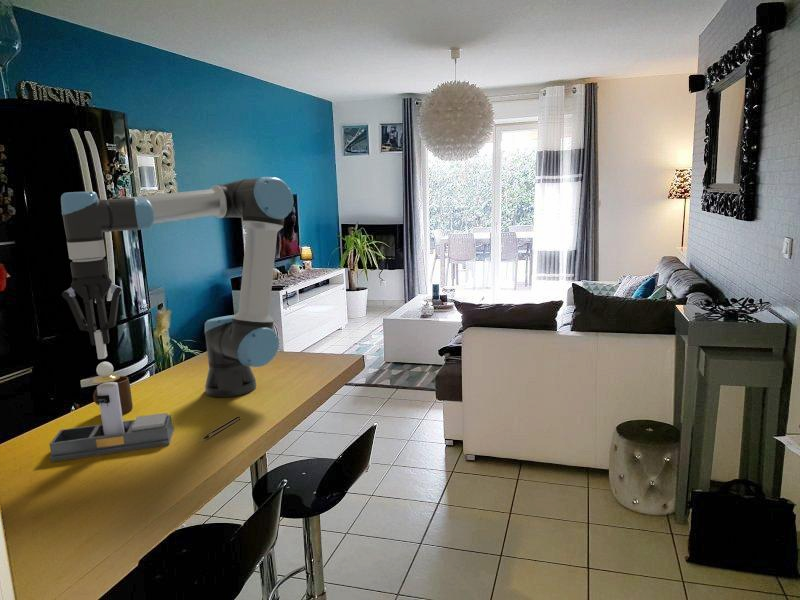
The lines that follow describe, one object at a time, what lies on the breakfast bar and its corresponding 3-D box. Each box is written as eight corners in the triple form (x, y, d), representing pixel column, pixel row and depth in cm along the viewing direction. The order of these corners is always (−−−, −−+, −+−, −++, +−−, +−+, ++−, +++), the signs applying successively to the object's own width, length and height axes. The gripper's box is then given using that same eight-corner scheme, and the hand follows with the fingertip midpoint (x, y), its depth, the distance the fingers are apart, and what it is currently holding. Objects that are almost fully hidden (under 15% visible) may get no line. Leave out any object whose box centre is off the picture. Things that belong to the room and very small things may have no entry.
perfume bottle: (114, 434, 146) (103, 357, 143) (133, 436, 145) (122, 359, 141) (96, 443, 141) (84, 364, 137) (115, 445, 139) (103, 366, 136)
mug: (110, 423, 157) (105, 390, 155) (86, 422, 159) (81, 389, 157) (138, 407, 169) (134, 376, 167) (116, 406, 170) (111, 375, 169)
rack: (173, 429, 151) (171, 410, 150) (169, 444, 142) (166, 424, 141) (63, 444, 145) (60, 425, 144) (50, 462, 135) (47, 441, 134)
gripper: (121, 255, 140) (134, 350, 144) (61, 259, 136) (77, 356, 141) (115, 259, 132) (129, 358, 137) (51, 263, 129) (68, 365, 134)
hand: (102, 357), depth 139 cm, fingers closed
